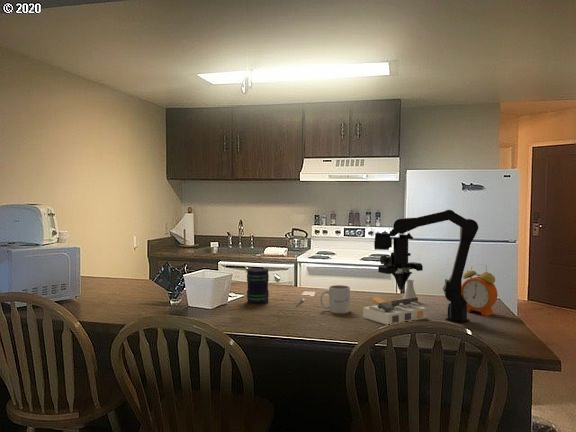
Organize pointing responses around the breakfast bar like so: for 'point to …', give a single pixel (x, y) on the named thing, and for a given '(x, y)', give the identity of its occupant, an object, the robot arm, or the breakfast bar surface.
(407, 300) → the rocker
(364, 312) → the switch box
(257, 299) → the storage jar
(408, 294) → the flask
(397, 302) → the block
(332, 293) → the mug
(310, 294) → the spatula
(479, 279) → the alarm clock
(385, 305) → the block
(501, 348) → the breakfast bar surface
